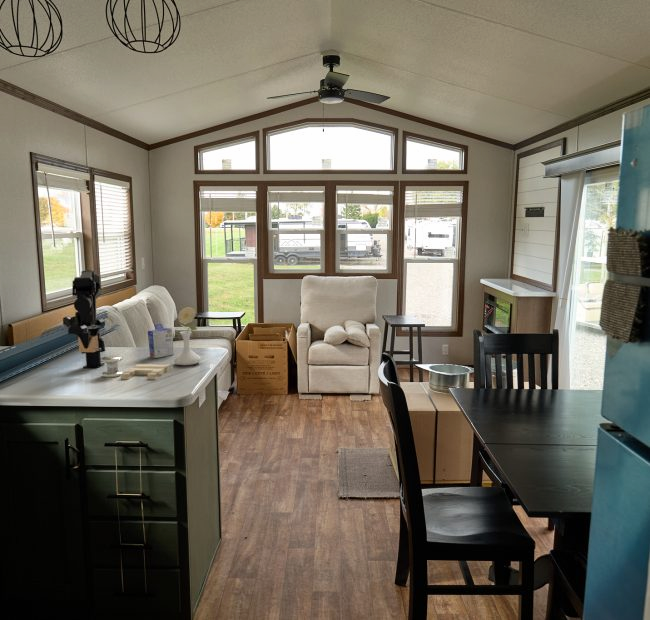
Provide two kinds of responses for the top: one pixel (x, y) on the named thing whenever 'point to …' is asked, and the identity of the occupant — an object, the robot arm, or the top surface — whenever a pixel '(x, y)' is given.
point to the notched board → (146, 370)
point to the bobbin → (112, 366)
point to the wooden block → (91, 346)
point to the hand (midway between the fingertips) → (88, 347)
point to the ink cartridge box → (160, 342)
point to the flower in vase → (187, 338)
